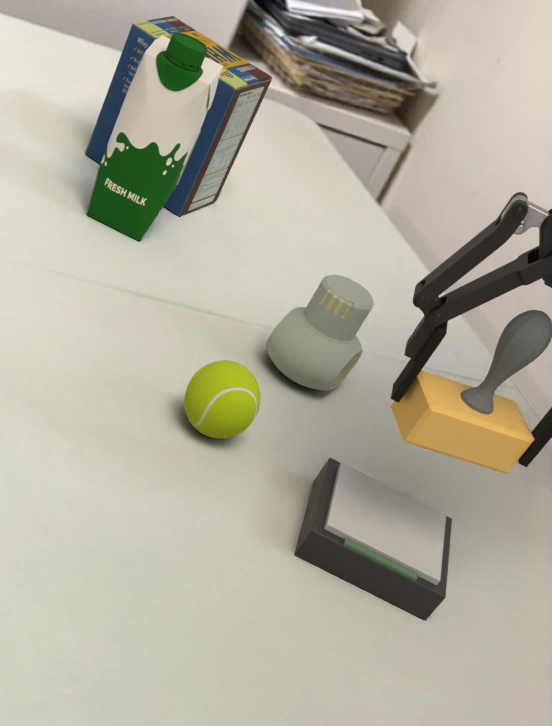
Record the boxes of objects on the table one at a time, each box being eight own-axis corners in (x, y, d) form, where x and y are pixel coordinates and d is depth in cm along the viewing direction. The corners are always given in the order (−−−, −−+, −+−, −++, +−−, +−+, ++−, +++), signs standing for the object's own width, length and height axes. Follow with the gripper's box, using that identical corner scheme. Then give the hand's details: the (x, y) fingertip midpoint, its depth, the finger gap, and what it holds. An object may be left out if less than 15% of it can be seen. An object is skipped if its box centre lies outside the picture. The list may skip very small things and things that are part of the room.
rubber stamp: (489, 435, 95) (585, 313, 86) (508, 476, 91) (610, 353, 82) (389, 403, 92) (478, 274, 84) (404, 444, 89) (498, 313, 80)
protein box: (123, 141, 144) (172, 14, 133) (217, 202, 141) (275, 77, 130) (82, 153, 137) (130, 20, 126) (179, 218, 134) (238, 87, 123)
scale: (433, 541, 105) (456, 513, 103) (425, 621, 96) (450, 592, 94) (313, 481, 105) (333, 451, 103) (294, 555, 96) (315, 524, 94)
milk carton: (76, 214, 126) (146, 27, 111) (97, 189, 132) (166, 9, 117) (145, 248, 126) (223, 66, 111) (162, 221, 132) (239, 46, 117)
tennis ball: (247, 459, 104) (283, 398, 99) (182, 447, 101) (216, 384, 96) (227, 413, 108) (261, 353, 103) (164, 401, 106) (196, 338, 101)
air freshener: (288, 338, 123) (335, 256, 116) (349, 378, 121) (400, 298, 114) (248, 366, 116) (295, 280, 108) (312, 409, 114) (364, 326, 107)
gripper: (501, 103, 72) (327, 381, 88) (817, 264, 72) (586, 512, 88) (502, 75, 77) (338, 342, 93) (797, 225, 77) (583, 466, 93)
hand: (458, 425), depth 91 cm, fingers closed on rubber stamp, 11 cm apart
